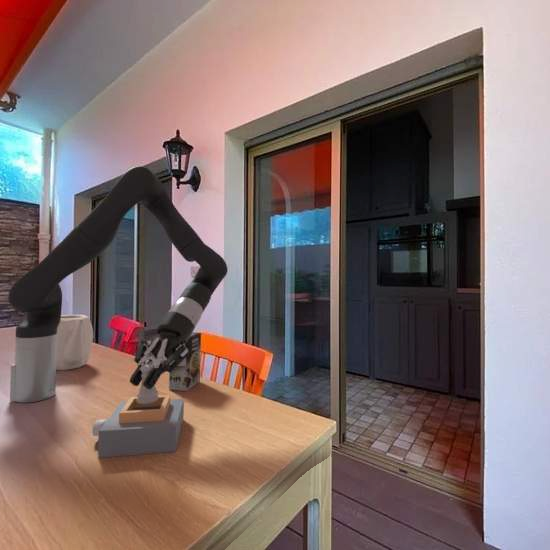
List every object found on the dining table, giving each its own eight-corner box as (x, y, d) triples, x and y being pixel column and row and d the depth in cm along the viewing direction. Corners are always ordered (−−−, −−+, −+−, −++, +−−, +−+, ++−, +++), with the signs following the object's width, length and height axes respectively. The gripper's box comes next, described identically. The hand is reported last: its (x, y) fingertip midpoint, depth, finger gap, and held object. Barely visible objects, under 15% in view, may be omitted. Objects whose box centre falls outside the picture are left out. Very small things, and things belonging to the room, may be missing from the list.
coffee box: (187, 391, 93) (188, 337, 93) (168, 389, 95) (169, 336, 95) (201, 381, 102) (202, 332, 102) (182, 380, 103) (183, 331, 104)
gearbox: (80, 459, 58) (81, 421, 58) (106, 424, 72) (107, 393, 72) (175, 451, 61) (176, 415, 61) (183, 419, 75) (184, 390, 75)
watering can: (53, 381, 101) (55, 322, 101) (33, 364, 118) (34, 314, 118) (105, 370, 112) (106, 318, 112) (80, 357, 130) (81, 311, 130)
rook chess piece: (137, 406, 64) (137, 367, 64) (135, 399, 68) (135, 362, 68) (160, 402, 66) (160, 365, 66) (157, 395, 70) (157, 360, 70)
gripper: (152, 308, 77) (105, 371, 66) (197, 312, 71) (154, 382, 60) (167, 327, 82) (126, 388, 71) (211, 331, 76) (174, 400, 65)
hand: (139, 385), depth 65 cm, fingers closed on rook chess piece, 3 cm apart
